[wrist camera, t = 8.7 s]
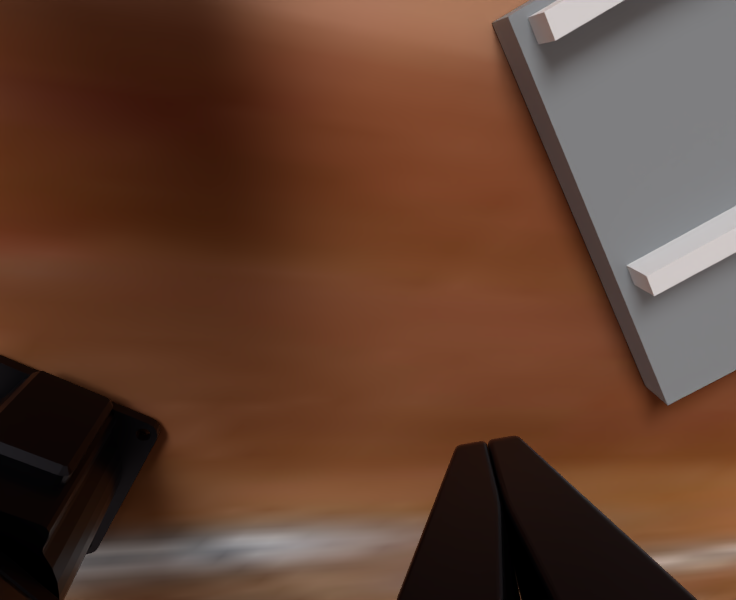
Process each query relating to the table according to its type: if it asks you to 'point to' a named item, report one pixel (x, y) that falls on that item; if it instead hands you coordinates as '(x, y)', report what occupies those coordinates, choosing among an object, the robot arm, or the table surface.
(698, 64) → the switch board
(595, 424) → the table surface
